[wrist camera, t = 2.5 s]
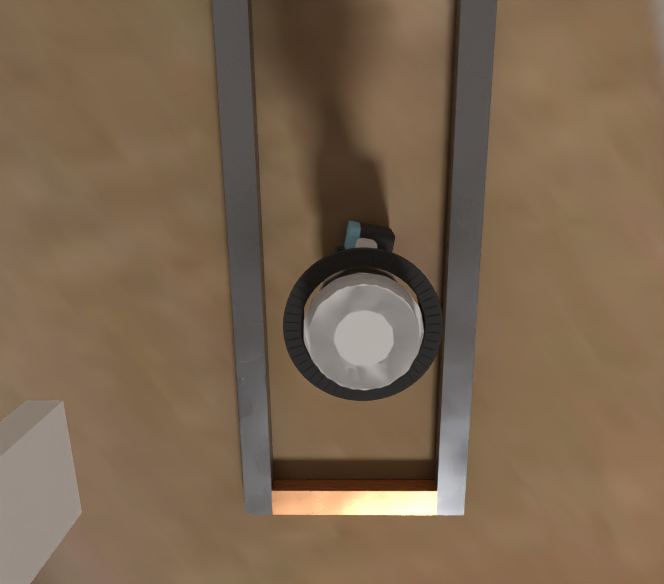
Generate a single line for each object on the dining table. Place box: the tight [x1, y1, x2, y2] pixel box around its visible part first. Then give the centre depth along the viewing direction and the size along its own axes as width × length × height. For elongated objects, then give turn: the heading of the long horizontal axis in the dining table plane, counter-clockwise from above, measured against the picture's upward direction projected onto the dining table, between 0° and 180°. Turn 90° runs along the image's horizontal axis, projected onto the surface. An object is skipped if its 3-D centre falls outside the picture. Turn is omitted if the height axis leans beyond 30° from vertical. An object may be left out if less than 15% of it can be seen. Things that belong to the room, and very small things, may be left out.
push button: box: [283, 220, 443, 401], centre depth 21 cm, size 7×5×10 cm
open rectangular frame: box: [212, 0, 497, 515], centre depth 25 cm, size 12×28×1 cm, turn 1°
